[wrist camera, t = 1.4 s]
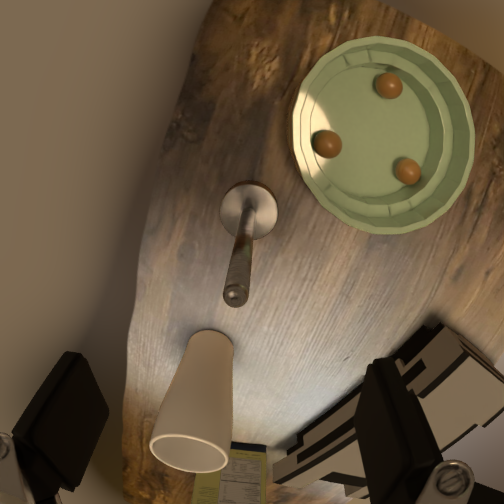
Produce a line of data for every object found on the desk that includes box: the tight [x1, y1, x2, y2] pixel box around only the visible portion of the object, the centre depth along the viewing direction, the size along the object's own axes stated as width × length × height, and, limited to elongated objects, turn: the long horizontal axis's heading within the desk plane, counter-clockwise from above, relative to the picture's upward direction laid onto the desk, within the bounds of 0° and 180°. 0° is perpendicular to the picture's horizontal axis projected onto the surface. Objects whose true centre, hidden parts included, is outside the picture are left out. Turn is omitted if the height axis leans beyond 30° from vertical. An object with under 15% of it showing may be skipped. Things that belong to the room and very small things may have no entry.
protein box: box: [191, 443, 266, 504], centre depth 39 cm, size 10×16×16 cm
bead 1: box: [314, 130, 342, 159], centre depth 25 cm, size 2×2×2 cm
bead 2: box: [376, 73, 403, 99], centre depth 22 cm, size 2×2×2 cm
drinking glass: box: [150, 330, 234, 473], centre depth 29 cm, size 7×7×15 cm
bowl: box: [287, 36, 475, 234], centre depth 23 cm, size 15×15×6 cm
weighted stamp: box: [220, 180, 278, 308], centre depth 22 cm, size 5×5×16 cm
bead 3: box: [395, 158, 421, 185], centre depth 25 cm, size 2×2×2 cm
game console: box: [273, 322, 504, 499], centre depth 36 cm, size 21×32×8 cm, turn 146°
